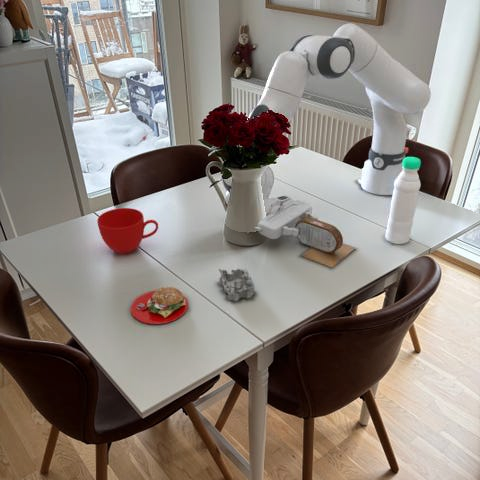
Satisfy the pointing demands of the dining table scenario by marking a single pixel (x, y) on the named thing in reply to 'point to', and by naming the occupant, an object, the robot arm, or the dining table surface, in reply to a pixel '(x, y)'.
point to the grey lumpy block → (237, 284)
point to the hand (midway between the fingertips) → (308, 226)
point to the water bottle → (404, 202)
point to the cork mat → (328, 255)
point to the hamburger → (159, 306)
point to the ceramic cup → (123, 229)
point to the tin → (319, 235)
